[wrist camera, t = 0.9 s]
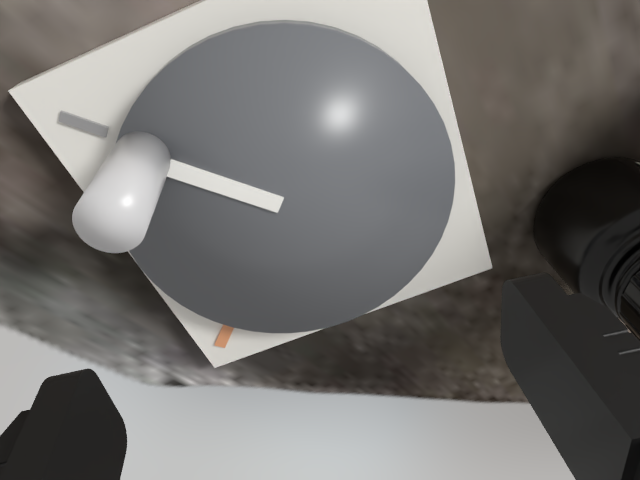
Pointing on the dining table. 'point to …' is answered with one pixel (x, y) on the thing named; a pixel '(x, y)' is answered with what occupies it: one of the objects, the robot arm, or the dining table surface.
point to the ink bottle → (596, 234)
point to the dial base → (212, 17)
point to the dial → (276, 178)
